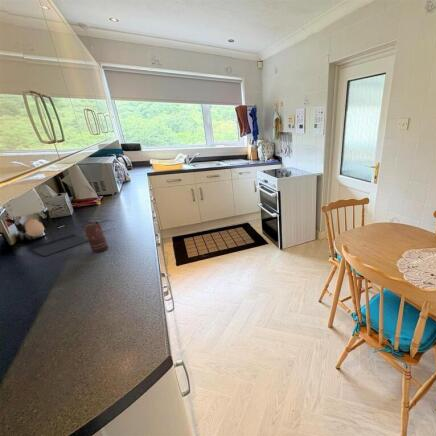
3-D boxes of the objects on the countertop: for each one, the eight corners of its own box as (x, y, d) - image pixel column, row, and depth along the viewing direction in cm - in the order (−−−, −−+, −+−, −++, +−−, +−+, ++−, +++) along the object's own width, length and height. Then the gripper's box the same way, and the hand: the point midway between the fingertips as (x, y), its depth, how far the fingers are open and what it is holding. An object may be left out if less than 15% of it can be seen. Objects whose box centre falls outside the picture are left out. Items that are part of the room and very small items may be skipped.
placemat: (44, 256, 107) (44, 256, 107) (29, 249, 113) (29, 248, 113) (89, 240, 122) (89, 240, 122) (74, 235, 129) (73, 234, 128)
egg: (45, 231, 99) (38, 215, 96) (48, 235, 96) (41, 218, 93) (25, 236, 95) (17, 219, 92) (28, 240, 91) (20, 222, 89)
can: (110, 245, 117) (102, 220, 112) (105, 251, 111) (96, 225, 106) (96, 247, 115) (86, 221, 110) (90, 253, 110) (80, 226, 104)
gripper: (41, 181, 96) (57, 221, 103) (-24, 190, 82) (-1, 235, 88) (49, 183, 93) (65, 224, 100) (-17, 192, 79) (6, 239, 85)
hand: (34, 229), depth 94 cm, fingers closed on egg, 5 cm apart
